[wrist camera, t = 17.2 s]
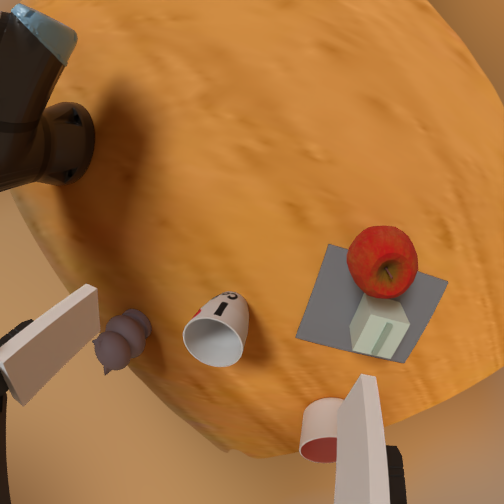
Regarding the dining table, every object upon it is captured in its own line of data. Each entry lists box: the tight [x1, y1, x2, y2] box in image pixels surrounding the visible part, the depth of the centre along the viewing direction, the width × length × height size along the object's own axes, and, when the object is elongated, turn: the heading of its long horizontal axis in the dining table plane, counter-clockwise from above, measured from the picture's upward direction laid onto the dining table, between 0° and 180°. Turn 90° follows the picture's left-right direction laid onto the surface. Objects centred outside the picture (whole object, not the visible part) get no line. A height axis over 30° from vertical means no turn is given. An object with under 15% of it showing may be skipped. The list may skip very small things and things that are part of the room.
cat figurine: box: [92, 309, 152, 375], centre depth 46 cm, size 9×8×12 cm
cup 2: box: [299, 397, 344, 463], centre depth 45 cm, size 10×10×10 cm
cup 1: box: [183, 291, 249, 367], centre depth 41 cm, size 8×8×10 cm
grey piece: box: [295, 244, 448, 363], centre depth 38 cm, size 20×16×5 cm
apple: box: [347, 226, 418, 299], centre depth 33 cm, size 9×8×11 cm
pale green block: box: [349, 293, 410, 359], centre depth 37 cm, size 6×6×7 cm
